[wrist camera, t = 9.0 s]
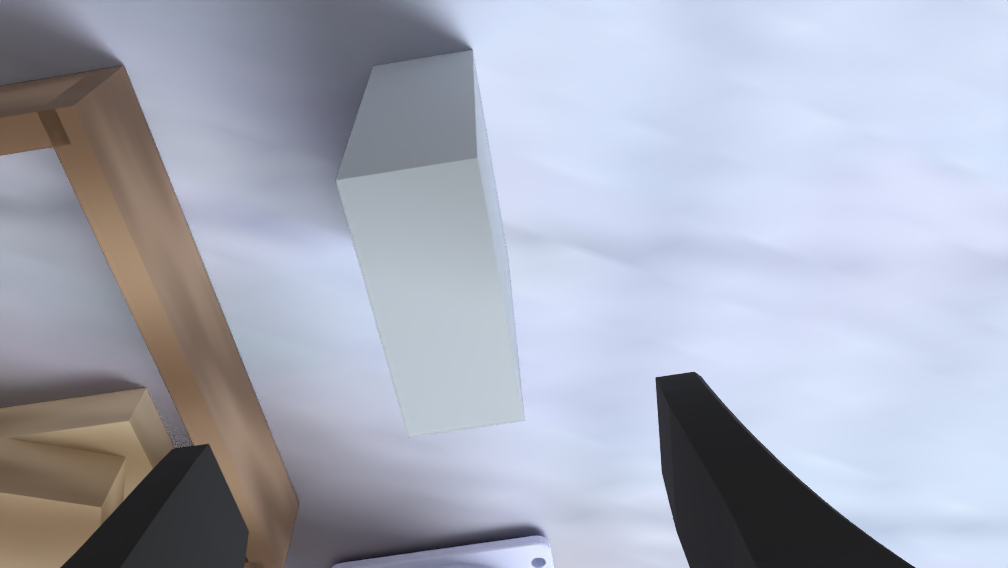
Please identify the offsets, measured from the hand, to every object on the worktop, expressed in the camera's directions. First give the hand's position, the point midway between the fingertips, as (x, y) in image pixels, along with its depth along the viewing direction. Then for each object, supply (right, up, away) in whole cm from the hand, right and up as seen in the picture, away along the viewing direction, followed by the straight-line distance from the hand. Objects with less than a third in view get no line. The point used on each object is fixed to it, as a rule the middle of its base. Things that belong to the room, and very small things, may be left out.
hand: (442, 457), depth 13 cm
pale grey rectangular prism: (-1, +6, +9) cm, 10 cm away
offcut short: (-13, -3, +12) cm, 18 cm away
